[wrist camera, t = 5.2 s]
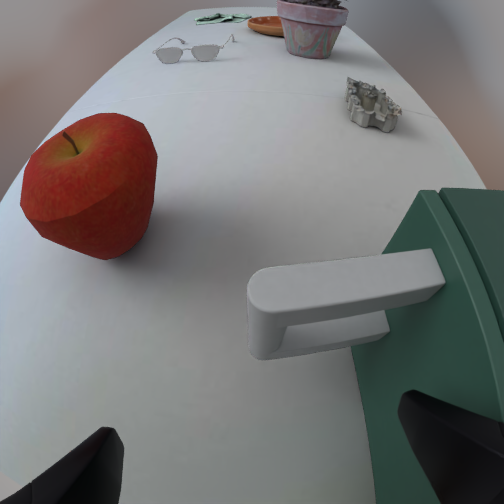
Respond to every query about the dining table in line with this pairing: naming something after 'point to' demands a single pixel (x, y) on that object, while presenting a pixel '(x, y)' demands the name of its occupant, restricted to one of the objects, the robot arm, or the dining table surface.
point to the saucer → (267, 25)
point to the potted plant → (311, 26)
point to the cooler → (482, 237)
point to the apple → (92, 185)
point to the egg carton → (371, 106)
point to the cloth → (221, 18)
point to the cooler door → (392, 332)
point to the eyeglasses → (198, 51)
